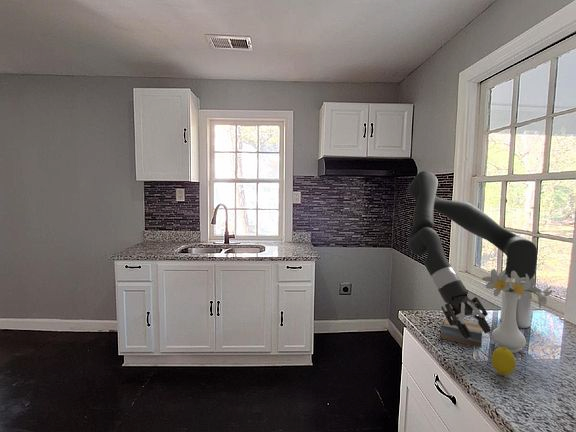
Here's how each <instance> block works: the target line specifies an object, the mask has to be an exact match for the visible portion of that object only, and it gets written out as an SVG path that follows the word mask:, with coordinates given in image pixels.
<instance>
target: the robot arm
mask: <svg viewBox="0 0 576 432" xmlns="http://www.w3.org/2000/svg"><path fill="white" fill-rule="evenodd" d="M438 187H439V181H438V178H437V176H436V175H435V173H433V172H431V171H428V170H422V171H419V172H418V173H417V174H416V175H415V177H414V178H413V179H412V181H411V182H410V183H409V185H408V186H407V193H408V194H409V195H410V196H411V197H412V198H413V199H414V200H416V203H415V207H414V211H413V218H412V228H411V230H410V233H409V237H408V241H407V242H408V247H409V250H410V251H411V252H412V253H413V254H414V255H416V256H424V255H426V254H427V255H426V258H425V259H424V262H423V263H424V267H425V268H426V270H427V271H428V273H429V275H430V277H431V279H432V281H433V284H434V285H435V287H436V289H437V291H438V294H439V295H440V297H441V298H442V300H443V302H444V305H442V306H441V310H442V312H443V314H444V316H445V318H447V320H448V322H449V324H450V325H451V326H452V325H455V326H457V327H458V329H459V330H460V332H461V334H462V336H463V337H464V338H465V339H467V338H470V337H472V335H471V333H470V331H469V330H468V328H467V326H466V325H465V324H463V323H464V320H465V319H464V317H465V316H466V317H467V316H469V317H470V318H473V319H475V320H476V321H477V323H479V325H480V327H481V328H482V333H484V334H487V333H489V332H492V329H491V326H490V324H489V323H488V321H487V320H486V317H487V316H488V315H489V314H488V312H487V310H486V309H485V308H484V306H483V304H482V303H481V301H480V300H479V299H478V297H477V296H475V297H473V298H472V299H471V298H469V297H468V294H469V291H468V290H467V288H466V287H465V285H464V284H463V282H462V279H461V278H460V277H459V274H457V272H456V271H455V270H454V268H453V267H452V265H451V263H450V262H449V261H448V259H447V258H446V255H445V251H444V247H443V244H442V241H441V239H440V236H439V234H438V233H437V232H436V231H435V229H434V227H435V221H434V220H435V218H434V214H435V213H434V211H436V212H437V213H440V214H442V215H443V216H444V217H446V218H448V219H449V220H451V221H452V222H453V223H455V224H456V225H458V226H460V227H461V228H463V229H464V230H466V231H468V232H470V233H471V234H473V235H475V236H477V237H479V238H482V239H484V240H485V241H487V242H489V243H491V244H492V245H493V246H494V247H496V248H498V249H499V251H501V252H502V253H503V254H504V255H506V265H505V269H504V270H505V271H506V272H505V274H506V275H507V276H508V278H510V279H511V272H512V271H515V272H516V273H517V275H518V276H519V277H520V278H523V277H526V274H527V275H528V276H529V281H530V280H531V278H534V276H535V275H536V274H535V273H536V270H537V269H536V268H537V262H538V260H537V259H538V248H537V245H536V244H535V243H534V242H533V241H532V240H530V239H527V238H525V237H523V236H520V235H518V234H516V233H515V232H514V233H513V232H511V231H510V230H508V229H506V228H504V227H503V226H502V225H500V224H498V222H496V221H495V220H494V219H493V218H492V217H490V216H489V215H488V214H487V213H485V212H484V211H483V210H481V209H479V208H478V207H476V206H474V205H473V204H472V203H470V202H466V201H460V200H450V199H445V198H441V197H439V196H437V189H438ZM505 274H504V275H505ZM527 290H528V289H527ZM527 292H528V293H530V295H531V296H532V297H533V293H532V292H529V291H527ZM500 304H501V306H500V317H499V319H500V322H501V323H502V321H503V318H504V312H505V294H504V292H503V290H501V303H500ZM531 308H532V299H528V298H526V297H525V296H523V295H521V299H518V300H517V304H516V323H517V326H518V329H527V328H529V327H530V321H531ZM451 318H452V319H453V320H452V319H451Z"/></svg>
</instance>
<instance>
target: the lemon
mask: <svg viewBox="0 0 576 432" xmlns="http://www.w3.org/2000/svg"><path fill="white" fill-rule="evenodd" d="M515 358H516V357H515V355H514V353H512V352H511V351H509V350H508V349H506V348H505V347H502V348H498V347H496V349H494V350H493V352H492V355H491V359H490V360H491V364H492V368H493V369H494V370H495V371H496V372H497V373H499V374H500V376H502V377H503V376H505V375H510V374H512V373H513V372H514V370H515V369H516V359H515Z"/></svg>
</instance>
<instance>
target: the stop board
mask: <svg viewBox="0 0 576 432" xmlns="http://www.w3.org/2000/svg"><path fill="white" fill-rule="evenodd" d="M451 319H452V317H451ZM452 320H453V319H452ZM463 324H465V325H466V326H467V328H468V330H469V331H470V333H471V335H472V337H470V338H467V339H465V338H464V337H463V336H462V334H461V332H460V330H459V329H458V327H457V326H455V325H452V326H451V325H450V324H449V322H448V320H447V318H446V317H445V319H444V322H443V324H441V330H440V331H441V332H440V339H443V340H448V341H453V342H457V343H461V344H466V345H471V346H476V347H479V348H481V347H482V343H483V340H482V339H483V330H482V328H481V327H480V325H479V323H478V321H477V322H476V321H470V320H467V319H466V320H465V319H464V323H463Z"/></svg>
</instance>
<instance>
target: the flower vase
mask: <svg viewBox="0 0 576 432" xmlns="http://www.w3.org/2000/svg"><path fill="white" fill-rule="evenodd" d="M505 272H506V271H505V269H504V270H502V271H500V272H499V273H498V271H497V270H496V269H494V268H492V269H491V270H490V276H484V277H482V281H485V282H488V283H485V288H486V289H489V290H493V289H494V290H493V296H494V297H498V296H499V295H500V293H502V290H503V292H504V294H505V312H504V318H503V321H502V322H501V323H500V325H499V326H497V327H496V328H494V329H493V330H492V331H491V339H492V340H493V342H494V343H495V344H496V348H502V347H505V348H506V349H508V350H509V351H511V352H512V354H516V353H519V352H520V349H523V348H525V346H526V345H527V339H526V337H525V336H524V333H522V332H521V331H520V328H518V326H517V323H516V304H517V300H518V299H521V295H523V296H525V297H526V298H528V299H531V300H532V299H533V295H532V296H531V295H530V293H528V292H527V291H529V292H532V294H534V295H536V296H537V299H538V307H539V308H538V309H539V310H541V307H542V305H543V306H546V305H547V301H548V300H547V297H549V296H550V295H551V294H552V293H553V289H551V288H552V286H551V285H550V286H549V287H547V288H546V289H545V288H544V290H542V289H540V288H539V287H537V286H536V284H537V279H536V278H535V277H533V278H531V280H530V281H529V276H528V275H527V274H526V277H523V278H520V277H519V276H518V275H517V273H516V272H515V271H512V272H511V279H510V278H508V276H507V275H506V274H505ZM504 274H505V275H504ZM527 289H528V290H527ZM550 289H551V290H550Z"/></svg>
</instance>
